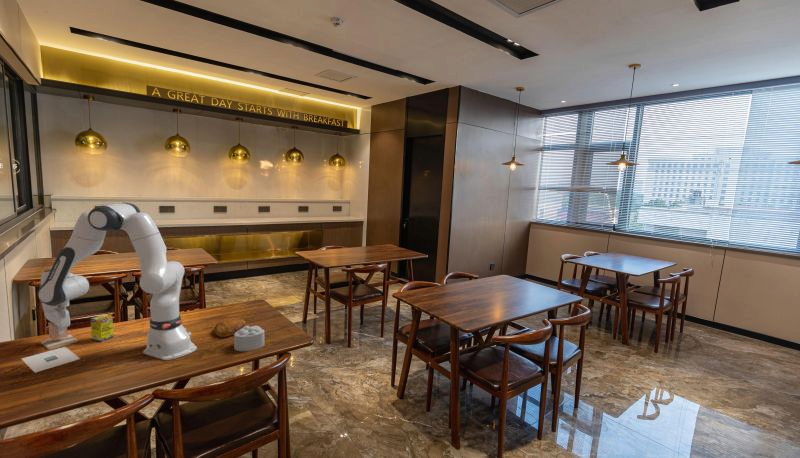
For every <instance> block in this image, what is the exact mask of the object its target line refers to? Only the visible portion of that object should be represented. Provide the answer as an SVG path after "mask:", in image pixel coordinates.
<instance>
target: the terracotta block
mask: <svg viewBox="0 0 800 458" xmlns="http://www.w3.org/2000/svg"><path fill="white" fill-rule="evenodd" d="M47 323H48V325H47V327H48V335H49V336H48V337H49V339H52V340H56V339H60V338H64V337H68V334H69V333H68V327H65V328H64V333H63V334H58V326H56V325H55V324H53V323H52V322H51V321H50V322H47Z"/></svg>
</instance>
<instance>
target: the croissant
mask: <svg viewBox="0 0 800 458" xmlns="http://www.w3.org/2000/svg"><path fill="white" fill-rule="evenodd" d="M244 326H247V322H246V321H245V320H244V319H242V318H240V317H227V318H224V319H221V320H220V321H218V322H217V323H216V325H215V326H214V328H213V329H214V331H213V332H214V334H216V335H217V336H218V337H220V338H227V337H230V336H234V334H235V333H236V332H237V331H239V330H240V329H242V328H243V327H244Z"/></svg>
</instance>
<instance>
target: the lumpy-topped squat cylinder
mask: <svg viewBox="0 0 800 458" xmlns="http://www.w3.org/2000/svg"><path fill="white" fill-rule="evenodd" d="M233 338H234V339H233V343H234V345H233V347H234V348H233V349H234V350H235V351H237V352H248V351H253V350H254V351H255V350H257V349H260V348H262V347H264V346H265V329H262V327H261V326H258V325H253V326H249V325H246V326H244V327H243V328H242V329H240V330H239V331H237V332H236V333H235V334H234V335H233Z"/></svg>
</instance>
